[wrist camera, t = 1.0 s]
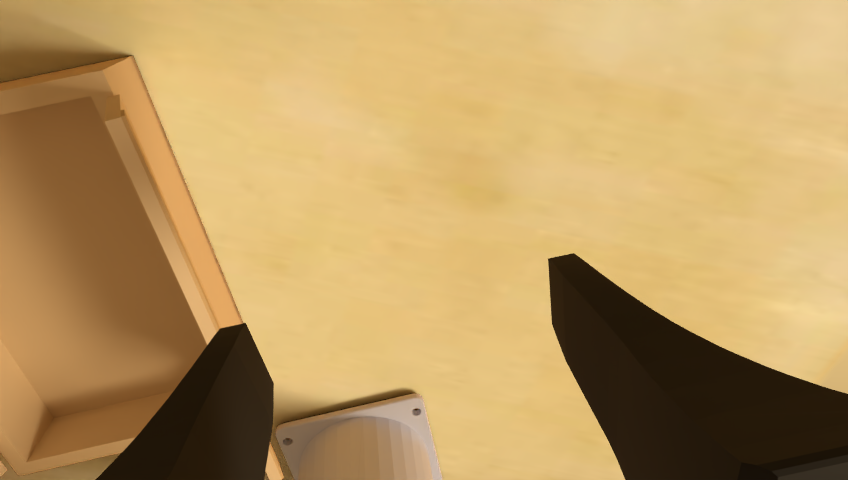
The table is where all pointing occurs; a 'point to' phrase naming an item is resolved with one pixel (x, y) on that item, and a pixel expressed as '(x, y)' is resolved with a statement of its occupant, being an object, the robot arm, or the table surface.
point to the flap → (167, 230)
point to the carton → (89, 271)
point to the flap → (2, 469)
